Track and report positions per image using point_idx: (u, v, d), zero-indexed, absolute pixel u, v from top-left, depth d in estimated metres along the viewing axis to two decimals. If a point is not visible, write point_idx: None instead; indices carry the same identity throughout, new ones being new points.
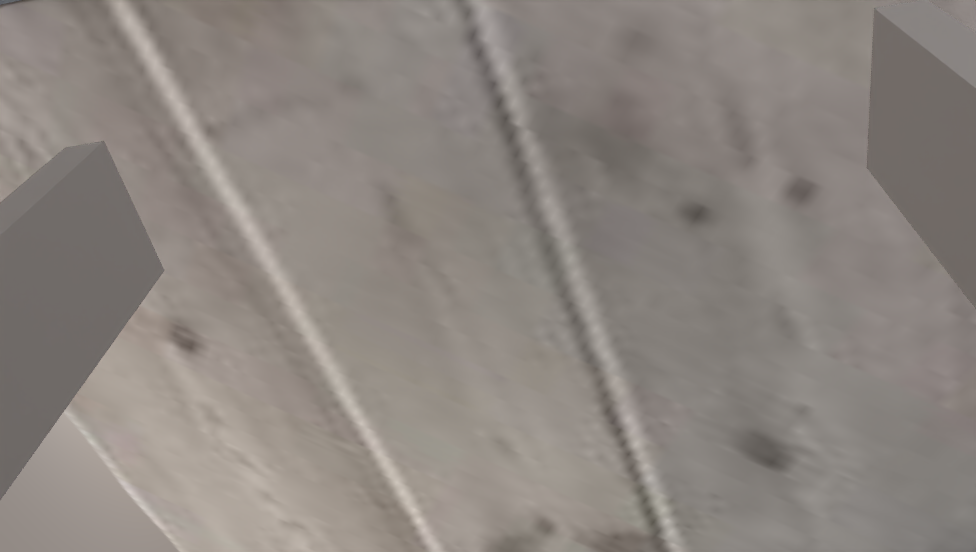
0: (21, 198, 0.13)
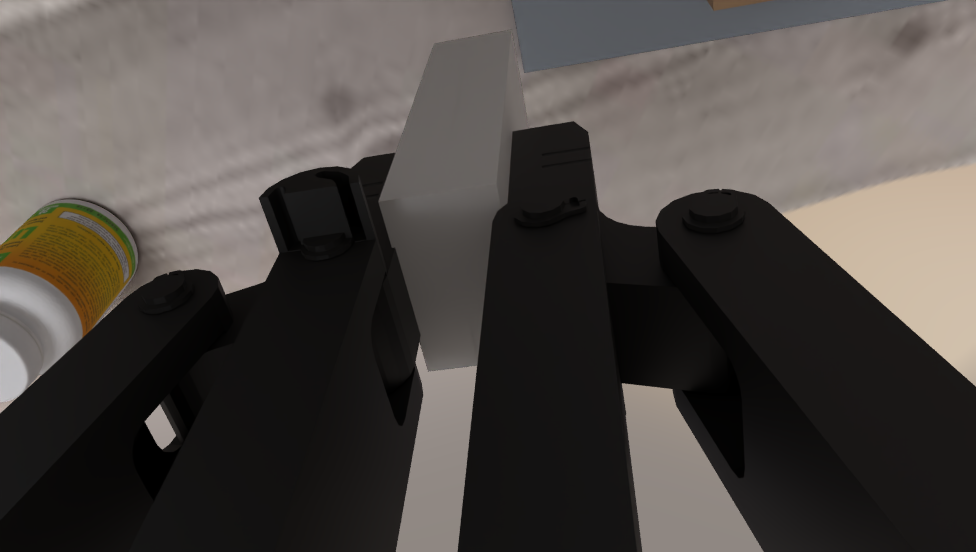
0: (441, 77, 0.14)
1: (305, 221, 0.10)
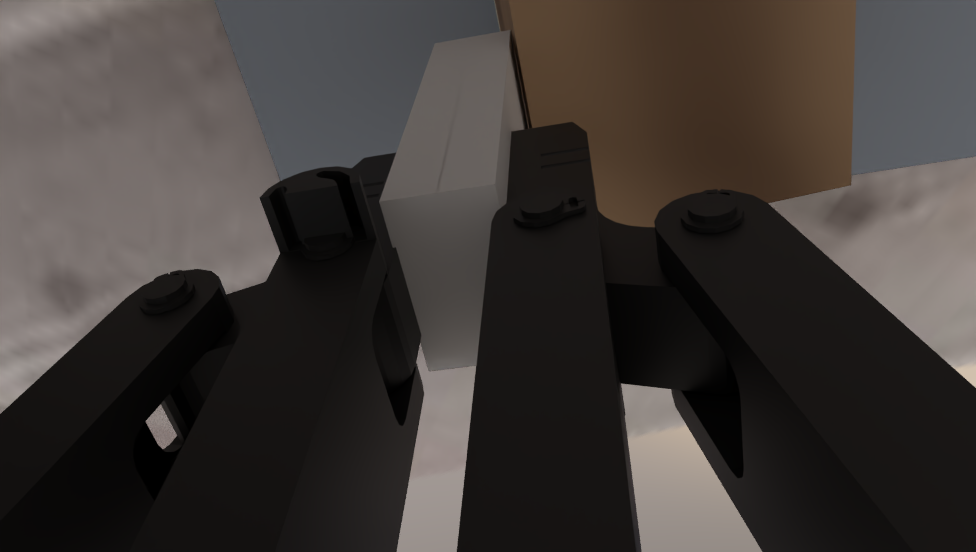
0: (442, 76, 0.14)
1: (305, 221, 0.10)
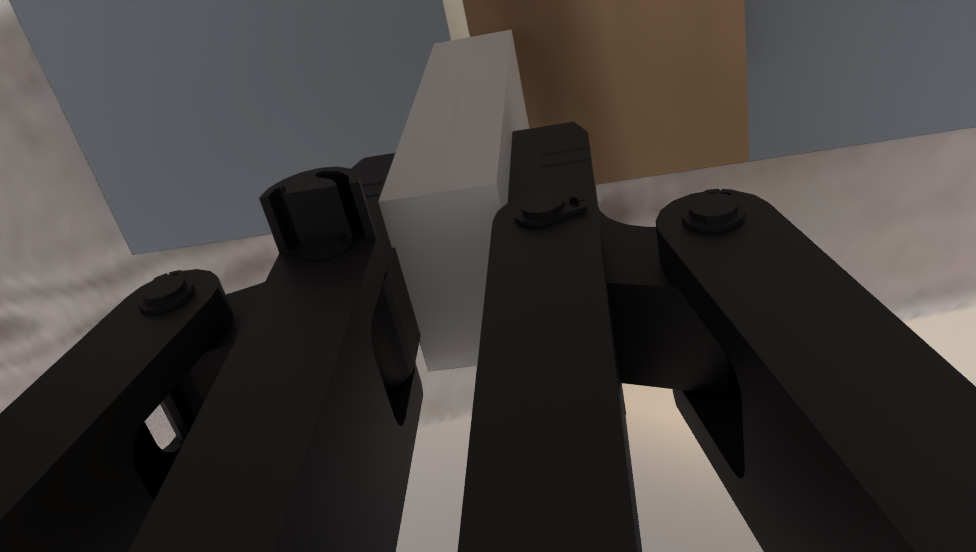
0: (441, 76, 0.14)
1: (305, 221, 0.10)
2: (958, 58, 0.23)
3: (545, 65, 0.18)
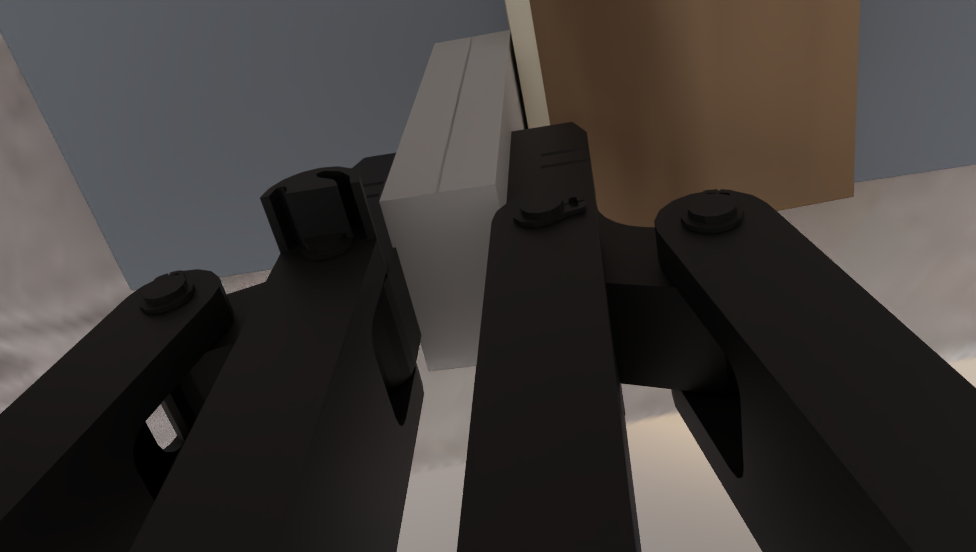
0: (441, 77, 0.14)
1: (306, 221, 0.10)
2: None
3: (627, 96, 0.15)
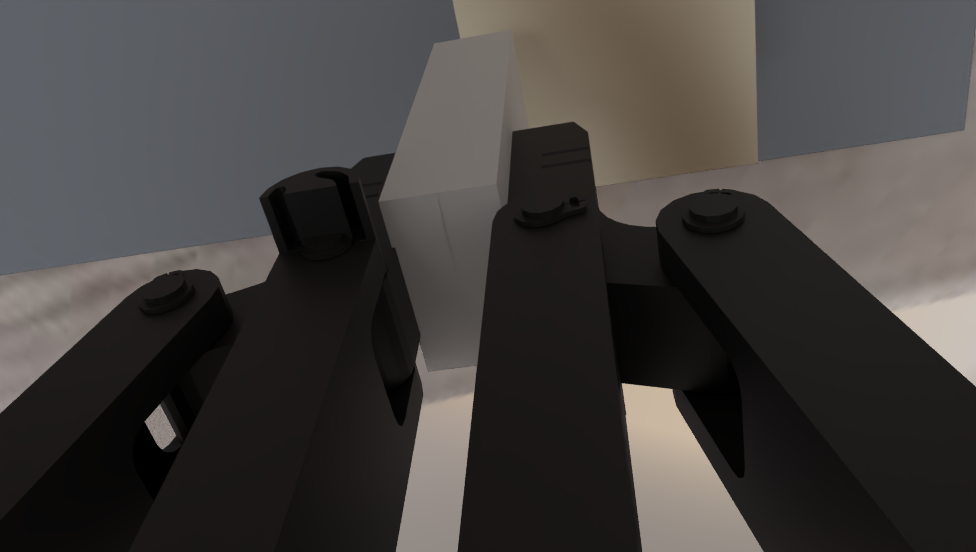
0: (441, 77, 0.14)
1: (305, 221, 0.10)
2: None
3: None
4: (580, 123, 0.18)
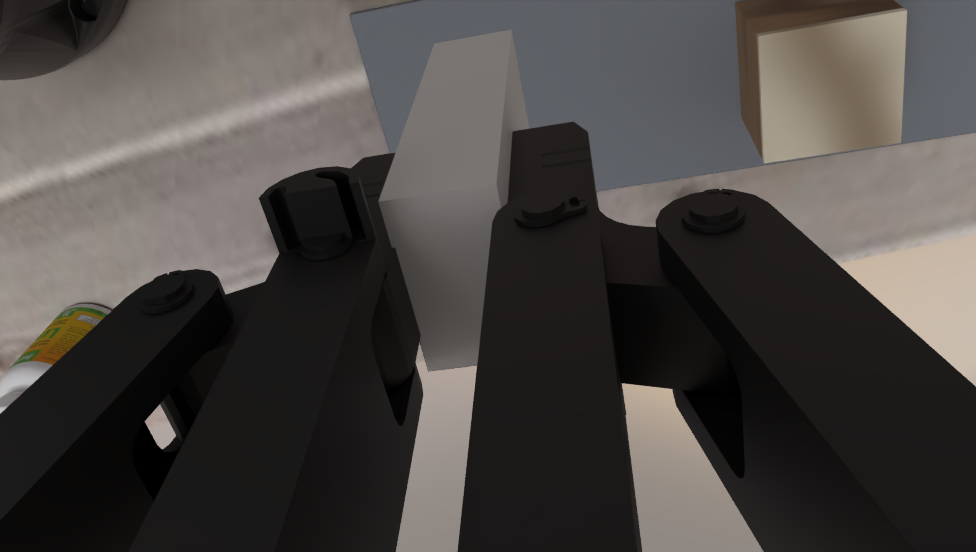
0: (441, 77, 0.14)
1: (304, 221, 0.10)
2: None
3: None
4: (813, 123, 0.38)
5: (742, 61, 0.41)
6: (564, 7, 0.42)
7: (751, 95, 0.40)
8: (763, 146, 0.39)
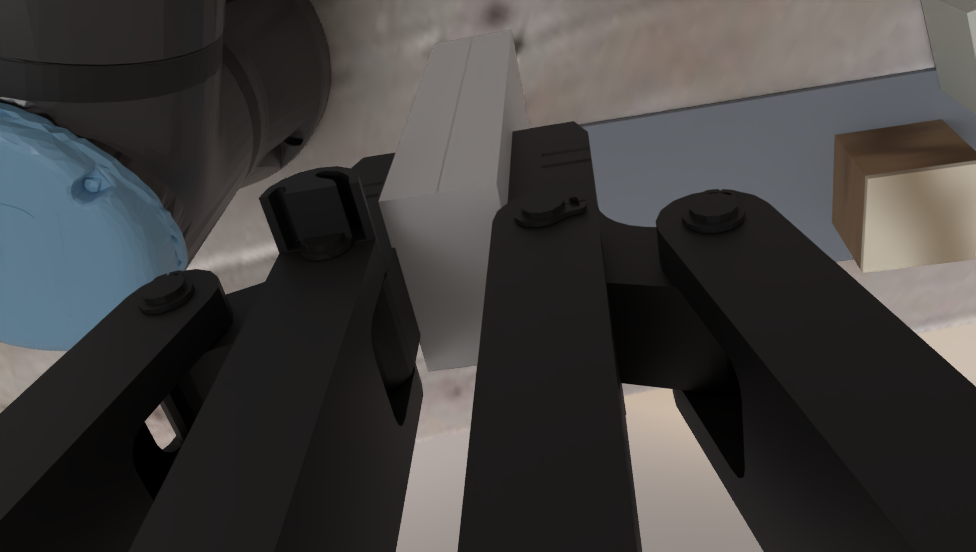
0: (441, 77, 0.14)
1: (305, 221, 0.10)
2: None
3: None
4: (905, 244, 0.47)
5: (840, 183, 0.50)
6: (692, 136, 0.50)
7: (850, 215, 0.49)
8: (863, 260, 0.48)
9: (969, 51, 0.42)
